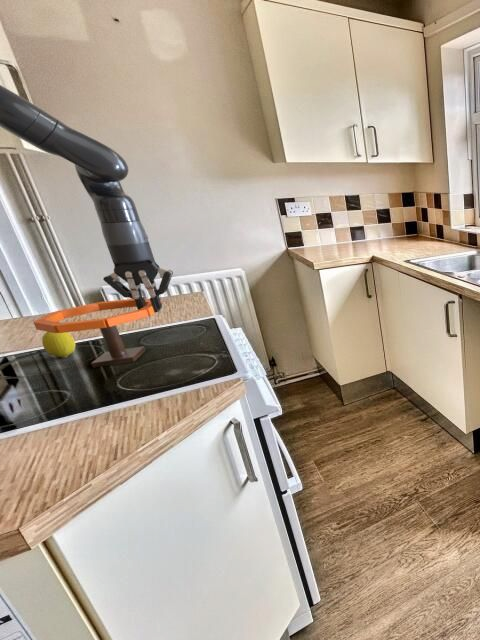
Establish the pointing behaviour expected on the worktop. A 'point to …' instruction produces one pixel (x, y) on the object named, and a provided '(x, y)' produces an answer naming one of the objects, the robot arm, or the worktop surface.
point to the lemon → (58, 344)
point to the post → (116, 349)
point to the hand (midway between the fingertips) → (151, 311)
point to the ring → (54, 326)
